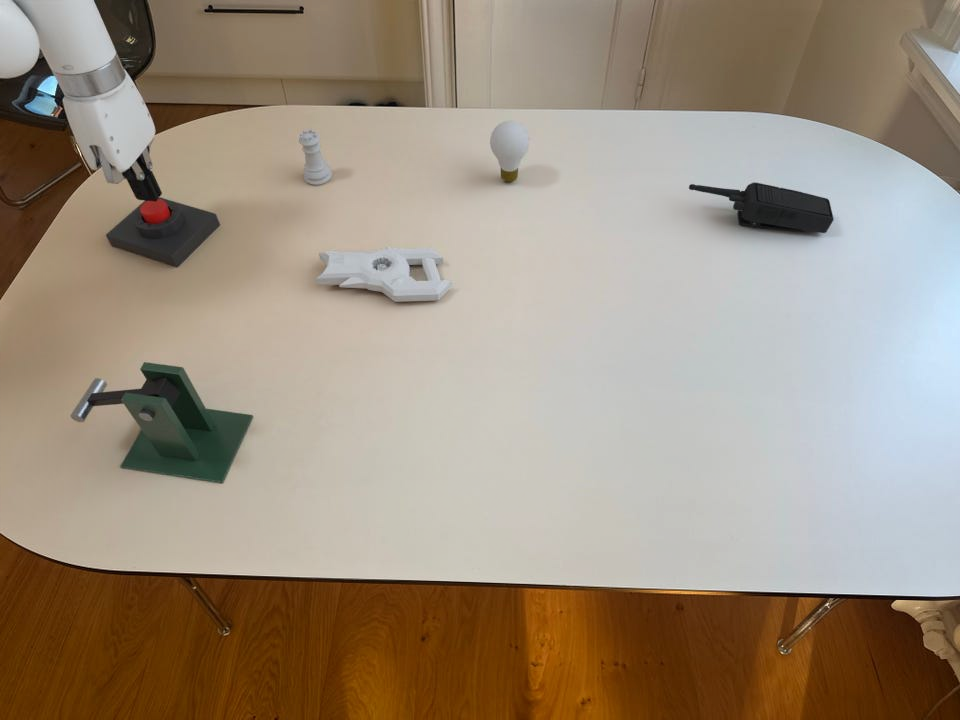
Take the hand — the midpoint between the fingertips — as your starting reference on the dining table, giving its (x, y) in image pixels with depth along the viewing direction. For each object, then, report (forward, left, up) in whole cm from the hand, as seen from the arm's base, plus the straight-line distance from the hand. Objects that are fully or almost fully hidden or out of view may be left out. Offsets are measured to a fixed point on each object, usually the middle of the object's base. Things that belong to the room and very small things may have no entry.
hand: (149, 196), depth 99 cm
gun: (+32, -14, -7) cm, 36 cm away
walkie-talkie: (+86, -9, -7) cm, 87 cm away
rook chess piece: (+22, +11, -7) cm, 25 cm away
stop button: (0, 0, -3) cm, 3 cm away
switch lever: (+5, -37, 0) cm, 37 cm away
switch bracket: (+9, -38, -7) cm, 40 cm away
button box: (0, 0, -7) cm, 7 cm away
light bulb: (+52, +6, -7) cm, 53 cm away
